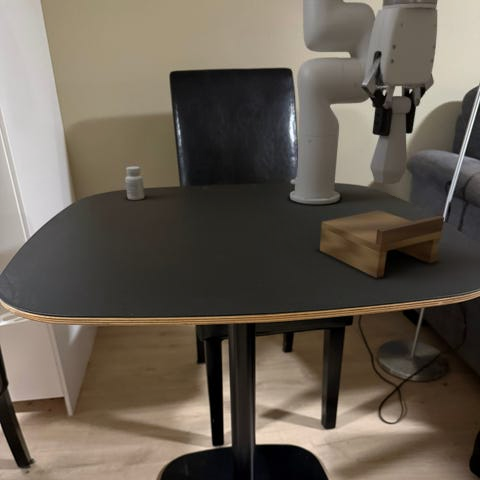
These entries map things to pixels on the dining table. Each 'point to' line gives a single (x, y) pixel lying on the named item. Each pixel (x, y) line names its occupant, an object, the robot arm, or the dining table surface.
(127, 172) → the pill bottle
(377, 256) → the shelf
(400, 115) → the salt shaker
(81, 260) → the dining table surface
